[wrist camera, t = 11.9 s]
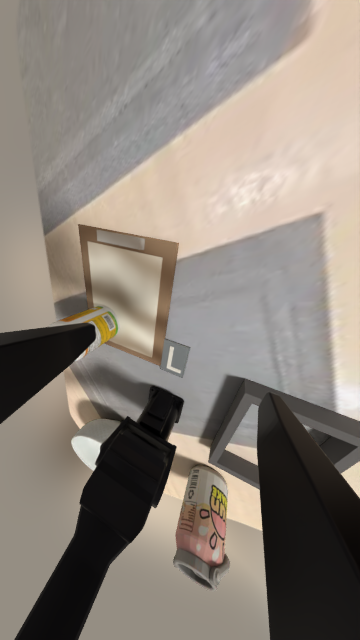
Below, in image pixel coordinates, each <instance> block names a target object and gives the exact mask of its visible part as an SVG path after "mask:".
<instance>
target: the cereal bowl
mask: <svg viewBox="0 0 360 640" xmlns="http://www.w3.org/2000/svg"><path fill="white" fill-rule="evenodd" d="M120 423H121V422H120V421H117V420H109V419H96V420H92V421H90V422H89V423H87V424H86V425H84V426H83V427H82V428H81V429H80V430H79V431H78V432H77V433H76V434H75V436H74V437H73V438H72V446H73V449H74V451H75V452H76V453H77V455H78V456H79V457H80V459H81V460H82V461H83V462H84V463H85V464H86V465H87V466H88V467H89V468H90V469H92V470H93V471H94V470H95V468H96V467H97V466H96V465H95V462H96V459H97V457H98V455H99V453H100V446H101V444H102V443H103V442H104V441H105V440H106V439H107V438H108V437H109V436H110V435H111V434H112V433H113V432H114V431H115V430H116V428H117V427H118V426H119V425H120Z"/></svg>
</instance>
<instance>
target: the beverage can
mask: <svg viewBox="0 0 360 640" xmlns="http://www.w3.org/2000/svg"><path fill="white" fill-rule="evenodd" d="M227 497H228V488H227V484H226V482H225V480H224V478H223V477H222V476H221V475H220V474H219V473H218V472H216V471H215V470H213V469H211V468H209V467H206V466H202V465H197V466H195V467H194V468H192V469H191V470H190V474H189V478H188V482H187V487H186V491H185V495H184V500H183V504H182V508H181V513H180V517H179V521H178V526H177V530H176V543H177V551H176V555H175V557H174V561H173V563H174V566H175V567H177V568H179V570H180V571H181V572H183V574H185V575H186V576H187V577H188V578H190V579H191V580H193V581H194V582H196V583H197V584H199V585H200V586H202V587H204V588H206V589H208V590H210V591H216V590H217V585H218V584H219V582H220V579H221V578H222V577H223V576H224V575H225V574H226V573H228V571H229V568H230V561H229V559H228V557H227V555H226V554H225V535H226V516H227Z"/></svg>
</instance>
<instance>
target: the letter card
mask: <svg viewBox="0 0 360 640" xmlns="http://www.w3.org/2000/svg"><path fill="white" fill-rule="evenodd" d="M189 350H190V347H187V346H184V345H182V344H179V343H176V342H173V341H170V340H168V339H164V346H163V353H162V360H161V367H160V369H162V370H164V371H167V372H169V373H172V374H174V375H176V376H179V377H181V378H183V375H184V371H185V366H186V362H187V358H188V354H189Z"/></svg>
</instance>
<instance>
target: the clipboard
mask: <svg viewBox="0 0 360 640" xmlns="http://www.w3.org/2000/svg"><path fill="white" fill-rule="evenodd" d="M78 226H79V235H80V243H81V252H82V261H83V269H84V278H85V286H86V295H87V304H88V310H89V309H91V308H94V307H97V306H105V307H108V308H109V309H111V310H112V311H113V312H114V313H115V314H116V316H117V318H118V320H119V324H120V329H119V332H118V334H117V335H115V336H114V337H113V338H111V339H110V340H108V341H107V342H105V344H107V345H110V346H112V347H115V348H117V349H120V350H122V351H125V352H127V353H130V354H132V355H134V356H137V357H139V358H142V359H144V360H147V361H149V362H152V363H154V364H156V365H159V366H160V365H161V360H162V353H163V346H164V339H165V335H166V328H167V322H168V315H169V308H170V301H171V294H172V287H173V280H174V273H175V266H176V259H177V253H178V246H179V243H176V242H170V241H165V240H160V239H154V238H149V237H144V236H138V235H133V234H128V233H123V232H117V231H112V230H107V229H101V228H96V227H91V226H85V225H80V224H78Z"/></svg>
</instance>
